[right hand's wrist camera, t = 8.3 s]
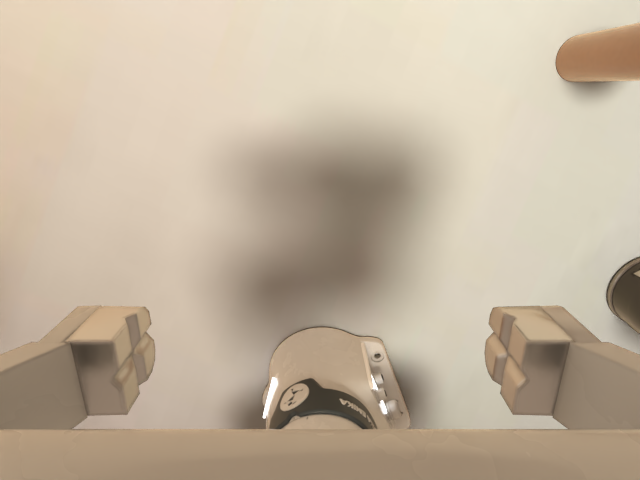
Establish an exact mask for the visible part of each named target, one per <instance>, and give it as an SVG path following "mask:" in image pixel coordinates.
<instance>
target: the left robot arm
mask: <svg viewBox="0 0 640 480" xmlns="http://www.w3.org/2000/svg"><path fill="white" fill-rule="evenodd" d="M607 300H608V305H609V307H610V309H611V311H612V312H613V313H614V314H615V315H616V316H617V317H619V318H620V319H621V320H623V321H625V322H627V323H628V325H629V326H630V327H631V328H632V329H634V330H635V331H636V332H638V333H639V334H640V258H637V259H635V260H633V261H631V262H629V263H628V264H626V265H625V266H624V267H622V268H621V269H620V270H619V271H618V272H617V274H616V275H615V276H614V278H613V279H612V281H611V283H610V285H609V288H608V293H607Z"/></svg>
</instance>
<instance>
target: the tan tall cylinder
mask: <svg viewBox="0 0 640 480" xmlns="http://www.w3.org/2000/svg"><path fill="white" fill-rule="evenodd" d="M556 68H557V71H558V73H559V75H560V76H561V77H562V78H563V79H565V80H567V81H570V82H596V81H640V23H635V24H630V25H625V26H620V27H615V28H610V29H605V30H601V31H596V32H591V33H586V34H581V35H576V36H574V37H572V38H570V39H568V40H567V41H566V42H565V43H564V44H563V45H562V47H561V48H560V50H559V52H558V54H557V58H556Z"/></svg>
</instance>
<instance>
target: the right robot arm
mask: <svg viewBox="0 0 640 480" xmlns="http://www.w3.org/2000/svg"><path fill="white" fill-rule="evenodd" d="M150 325H151V319H150V314H149V311H148V310H147V308H146V307H131V306H79V307H77V308H76V309H75V310H73V311H72V312H71V313H70V314H69V315H68V316H67V317H66V318H65V319H63V320H62V321H61V322H60V323H59V324H58V325H57V326H56V327H55V328H54V329H52V330H51V331H50V332H49V333H48V334H47V335H46V336H45V337H44V338H42V339H41V340H40V341H39V342H31V343H28V344H26V345H23V346H21V347H18V348H16V349H13V350H11V351H8V352H6V353H3V354H1V355H0V480H640V355H639V354H637V353H634V352H632V351H629V350H627V349H624V348H622V347H619V346H617V345H614V344H612V343H609V342H601V341H600V340H599V339H598V338H596V337H595V336H594V335H593V334H592V333H591V332H590V331H589V330H588V329H587V328H585V327H584V326H583V325H582V324H581V323H580V322H579V321H578V320H577V319H576V318H574V317H573V316H572V315H571V314H570V313H569V312H568V311H567V310H566V309H565V308H563V307H561V306H557V305H556V306H514V307H495V308H493V309H492V311H491V314H490V318H489V325H490V327H491V328H492V330H493V331H494V332H493V333H492V334H491V335H490V337H489V338H488V339H487V340H486V345H485V362H486V367H487V370H488V373H489V374H490V376H491V378H492V380H493V381H495V382H497V383H498V384H500V385H501V392H500V394H501V395H502V397H503V399H504V400H505V402H506V404H507V405H508V407H509V409H510V410H511V412H512V414H513V415H549V416H553V418H554V419H556V420H557V421H558V422H560V423H561V424H562V425H564V426H565V427H566V428H568V429H408V427H409V426H410V424H411V421H410V415H409V412H408V410H407V407H406V404H405V401H404V399H403V396H402V393H401V391H400V388H399V385H398V382H397V380H396V377H395V374H394V371H393V369H392V366H391V363H390V361H389V358H388V355H387V352H386V350H385V347H384V344H383V342H382V341H381V340H380V339H378V338H375V337H358V336H355V335H352V334H349V333H347V332H345V331H342V330H338V329H334V328H326V327H318V328H310V329H306V330H302V331H300V332H297V333H295V334H293V335H291V336H290V337H288V338H287V339H286V340H284V341H283V342H282V343H281V344H280V345H279V346H278V348H277V349H276V350H275V352H274V354H273V356H272V358H271V361H270V366H269V383H268V385H267V387H266V389H265V390H264V393H263V397H262V403H263V405H264V406H265V410H264V414H263V418H265V417H266V413H267V417H266V429H72V428H74V427H75V426H77V425H78V424H79V423H81V422H82V421H83V420H85V419H86V418H87V416H91V415H126V414H128V412H129V411H130V409H131V407H132V405H133V404H134V402H135V400H136V399H137V397H138V395H139V394H140V392H139V385H140V384H142V383H143V382H145V381H147V380H148V378H149V376H150V374H151V373H152V370H153V366H154V362H155V344H154V340H153V339H152V338H151V337H150V335H149V334H148V333H147V332H146V331H147V330H148V328H149V327H150ZM376 353H379V355H375V354H376Z"/></svg>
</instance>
